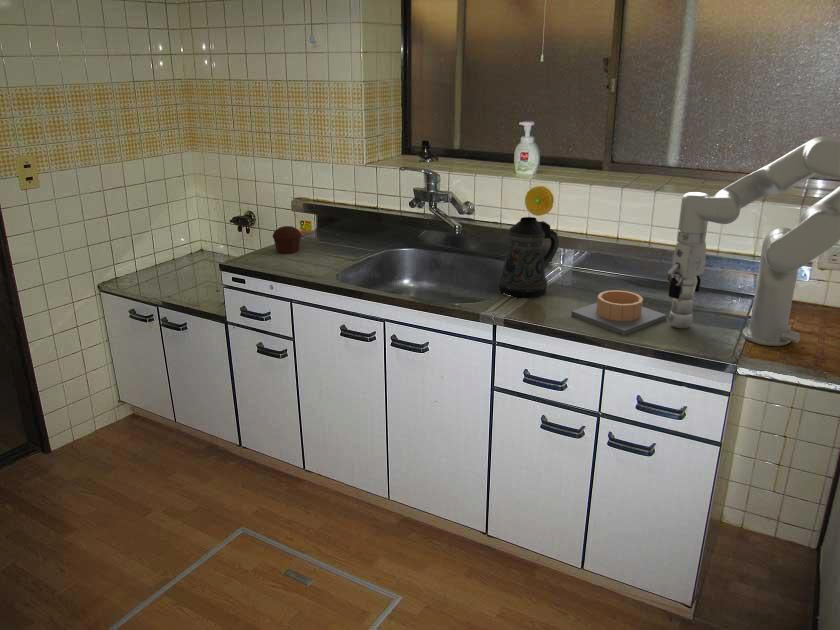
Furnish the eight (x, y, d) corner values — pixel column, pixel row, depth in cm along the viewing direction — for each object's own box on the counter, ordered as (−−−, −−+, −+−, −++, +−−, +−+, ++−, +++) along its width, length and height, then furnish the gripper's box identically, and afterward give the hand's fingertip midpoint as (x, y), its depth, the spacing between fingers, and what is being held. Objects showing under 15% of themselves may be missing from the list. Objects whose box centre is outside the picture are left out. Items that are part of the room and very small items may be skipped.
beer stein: (488, 291, 242) (489, 219, 232) (522, 277, 254) (526, 209, 245) (527, 302, 231) (531, 227, 222) (561, 288, 243) (566, 216, 234)
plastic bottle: (693, 331, 207) (702, 266, 200) (668, 330, 208) (677, 264, 201) (689, 323, 213) (698, 259, 206) (666, 322, 214) (674, 258, 207)
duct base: (666, 319, 216) (668, 299, 214) (624, 335, 205) (626, 314, 203) (613, 301, 231) (614, 282, 229) (571, 315, 220) (572, 295, 217)
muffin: (270, 255, 285) (268, 230, 281) (276, 247, 295) (274, 223, 291) (300, 255, 284) (298, 230, 281) (305, 247, 295) (303, 223, 291)
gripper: (685, 245, 193) (677, 304, 199) (720, 234, 203) (712, 291, 209) (661, 239, 198) (654, 297, 205) (697, 229, 208) (689, 284, 214)
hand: (683, 294), depth 207 cm, fingers open, 9 cm apart
